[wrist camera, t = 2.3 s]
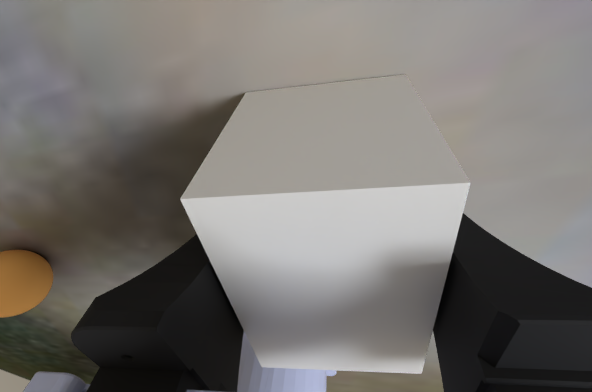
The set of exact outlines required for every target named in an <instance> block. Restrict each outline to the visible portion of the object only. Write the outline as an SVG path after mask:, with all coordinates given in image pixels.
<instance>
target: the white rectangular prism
mask: <svg viewBox="0 0 592 392" xmlns="http://www.w3.org/2000/svg"><path fill="white" fill-rule="evenodd" d="M469 187H470V181H469V179H468V178H467V176H466V174H465V172H464V171H463V169H462V167H461V166H460V164H459V162H458V161H457V159H456V157H455V156H454V154H453V152H452V151H451V149H450V147H449V146H448V144H447V142H446V141H445V139H444V137H443V135H442V134H441V132H440V130H439V129H438V127H437V125H436V124H435V122H434V120H433V119H432V117H431V115H430V114H429V112H428V110H427V109H426V107H425V105H424V104H423V102H422V100H421V99H420V97H419V95H418V93H417V92H416V90H415V88H414V87H413V85H412V83H411V82H410V80H409V78H408V77H407V75H406V74H404V75H395V76H387V77H378V78H369V79H360V80H351V81H343V82H334V83H325V84H316V85H307V86H299V87H290V88H281V89H272V90H263V91H255V92H246V93H245V95H244V96H243V98H242V100H241V101H240V103H239V104H238V106H237V108H236V109H235V111H234V113H233V114H232V116H231V117H230V119H229V121H228V122H227V124H226V126H225V127H224V129H223V130H222V132H221V134H220V135H219V137H218V138H217V140H216V142H215V143H214V145H213V147H212V148H211V150H210V151H209V153H208V155H207V156H206V158H205V159H204V161H203V163H202V164H201V166H200V168H199V169H198V171H197V172H196V174H195V176H194V177H193V179H192V180H191V182H190V184H189V185H188V187H187V189H186V190H185V192H184V193H183V195H182V197H181V198H180V200H181V202H182V204H183V206H184V208H185V210H186V212H187V214H188V216H189V219H190V221H191V223H192V225H193V227H194V229H195V231H196V233H197V235H198V237H199V239H200V241H201V243H202V245H203V247H204V249H205V251H206V254H207V256H208V258H209V260H210V262H211V264H212V266H213V268H214V270H215V272H216V274H217V276H218V278H219V280H220V282H221V284H222V286H223V289H224V291H225V293H226V295H227V297H228V299H229V301H230V303H231V305H232V307H233V309H234V311H235V313H236V315H237V317H238V319H239V321H240V324H241V326H242V328H243V330H244V332H245V334H246V336H247V338H248V340H249V342H250V344H251V346H252V348H253V350H254V352H255V354H256V357H257V359H258V361H259V363H260V365H261V367H266V368H291V369H316V370H341V371H366V372H390V373H415V374H422V370H423V366H424V362H425V358H426V354H427V351H428V347H429V343H430V339H431V335H432V331H433V327H434V323H435V319H436V316H437V312H438V308H439V304H440V300H441V296H442V292H443V288H444V284H445V281H446V277H447V273H448V269H449V265H450V261H451V257H452V253H453V249H454V245H455V242H456V238H457V234H458V230H459V226H460V222H461V218H462V214H463V210H464V207H465V203H466V199H467V195H468V191H469Z"/></svg>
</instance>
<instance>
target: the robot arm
mask: <svg viewBox="0 0 592 392" xmlns="http://www.w3.org/2000/svg"><path fill="white" fill-rule="evenodd" d="M433 332H434V337H435V342H436V348H437V353H438V359H439V364H440V370H441V376H442V382H443V388H444V392H592V288H591V287H588V286H586V285H584V284H581V283H579V282H577V281H574V280H572V279H570V278H568V277H566V276H564V275H562V274H559V273H557V272H555V271H553V270H551V269H549V268H547V267H545V266H543V265H541V264H540V263H538V262H536V261H534V260H532V259H530V258H528V257H527V256H525V255H523V254H521V253H520V252H518V251H516V250H515V249H513V248H511V247H510V246H508V245H506V244H505V243H503V242H502V241H500V240H499V239H497V238H496V237H494V236H493V235H491V234H490V233H488V232H487V231H485V230H484V229H483V228H481V227H480V226H478V225H477V224H476V223H475V222H473V221H472V220H471V219H470V218H468V217H467V216H466V215H465V214H462V218H461V222H460V226H459V230H458V234H457V238H456V242H455V245H454V249H453V253H452V257H451V261H450V265H449V269H448V273H447V277H446V281H445V284H444V288H443V292H442V296H441V300H440V304H439V308H438V312H437V316H436V319H435V323H434V327H433ZM71 339H72V341H73V343H74V345H75V346H76V347H77V348H78V349H79V350H80V351H81V352H82V353H84V354H85V355H86V356H87V357H88V358H90V359H91V360H92V361H93V362H95V363H96V364H97V365H98V366H100V368H99V370H98V372H97V373H96V375H95V377H94V379H93V381H92V382H91V384H85V382H84V381H83V380H82V379H81V378H79V377H77V376H75V375H73V374H70V373H62V372H41V371H40V372H37V373H36V374H35V375H34V376H33V378H32V379H31V381H30V382H29V384H28V385H27V386H26V388H25V389H24V391H23V392H326V376H334V375H336V370H316V369H291V368H266V367H261V365H260V363H259V361H258V359H257V357H256V354H255V352H254V350H253V348H252V346H251V344H250V342H249V340H248V338H247V336H246V334H245V332H244V330H243V328H242V326H241V324H240V321H239V319H238V317H237V315H236V313H235V311H234V309H233V307H232V305H231V303H230V301H229V299H228V297H227V295H226V293H225V291H224V289H223V286H222V284H221V282H220V280H219V278H218V276H217V274H216V272H215V270H214V268H213V266H212V264H211V262H210V260H209V258H208V256H207V254H206V251H205V249H204V247H203V245H202V243H201V241H200V239H199V237H198V235H197V234H196V235H195V236H194V237H193V238H191V239H190V240H189V241H188V242H187V243H185V244H184V245H183V246H182V247H180V248H179V249H178V250H176V251H175V252H174V253H172V254H171V255H169V256H168V257H166V258H165V259H163V260H162V261H161V262H159V263H158V264H156V265H155V266H153V267H151V268H150V269H148V270H147V271H145V272H143V273H142V274H140V275H138V276H136V277H135V278H133V279H131V280H129V281H128V282H126V283H124V284H122V285H120V286H118V287H116V288H114V289H112V290H110V291H108V292H106V293H104V294H102V295H100V296H98V297H96V298H95V299H94V301H93V302H92V304H91V305H90V307H89V308H88V309H87V311H86V312H85V314H84V315H83V317H82V318H81V320H80V321H79V323H78V324H77V326H76V327H75V328H74V330H73V331H72V334H71Z"/></svg>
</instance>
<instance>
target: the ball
mask: <svg viewBox="0 0 592 392" xmlns="http://www.w3.org/2000/svg"><path fill="white" fill-rule="evenodd" d="M52 283H53V271H52V268H51V266H50V264H49V263H48V262H47V261H46V260H45V259H44V258H43V257H42V256H40V255H38V254H36V253H34V252H31V251H26V250H8V251H3V252H0V317H10V316H15V315H18V314H22V313H24V312H26V311H28V310H30V309H32V308H34V307H35V306H37V305H38V304H39V303H40V302H41V301H42V300H43V299H44V298H45V297H46V296H47V294H48V293H49V291H50V289H51V286H52Z"/></svg>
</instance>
